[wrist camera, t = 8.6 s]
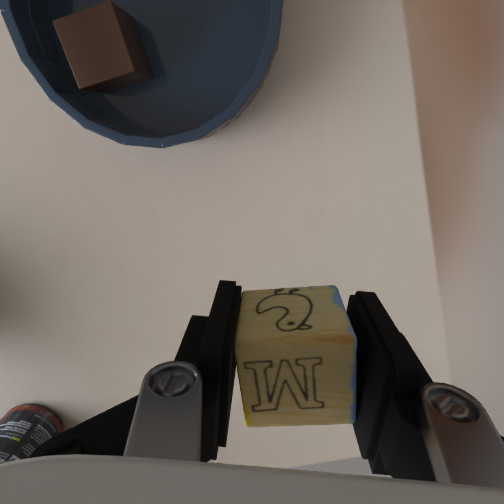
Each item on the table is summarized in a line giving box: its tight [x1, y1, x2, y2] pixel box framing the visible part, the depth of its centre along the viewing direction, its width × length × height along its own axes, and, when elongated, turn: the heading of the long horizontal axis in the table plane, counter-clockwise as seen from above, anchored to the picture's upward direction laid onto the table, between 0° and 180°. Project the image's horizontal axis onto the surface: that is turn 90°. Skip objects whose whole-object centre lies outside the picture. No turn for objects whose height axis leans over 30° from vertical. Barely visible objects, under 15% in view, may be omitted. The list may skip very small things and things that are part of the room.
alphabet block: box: [234, 285, 357, 427], centre depth 10 cm, size 3×3×3 cm
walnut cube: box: [52, 0, 154, 94], centre depth 21 cm, size 4×4×4 cm
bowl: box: [0, 0, 283, 148], centre depth 20 cm, size 15×15×4 cm
